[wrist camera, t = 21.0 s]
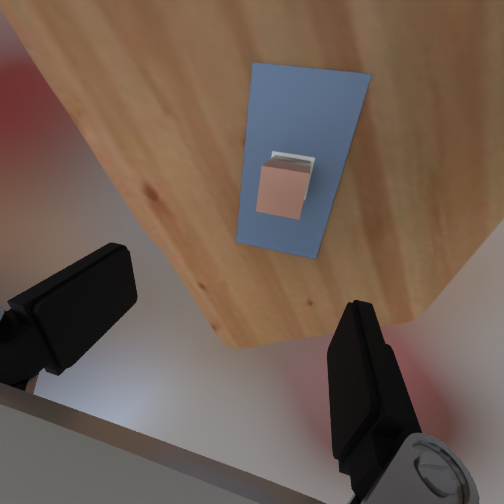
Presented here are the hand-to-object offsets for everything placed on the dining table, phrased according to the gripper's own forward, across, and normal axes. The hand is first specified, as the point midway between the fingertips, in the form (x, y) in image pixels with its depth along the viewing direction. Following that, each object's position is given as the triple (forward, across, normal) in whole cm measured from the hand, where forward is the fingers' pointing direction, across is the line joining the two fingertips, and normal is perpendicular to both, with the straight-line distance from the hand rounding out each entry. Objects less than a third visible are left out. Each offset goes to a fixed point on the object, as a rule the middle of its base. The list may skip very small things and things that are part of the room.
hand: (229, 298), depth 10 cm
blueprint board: (+28, 0, 0) cm, 28 cm away
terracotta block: (+23, 0, 0) cm, 23 cm away
